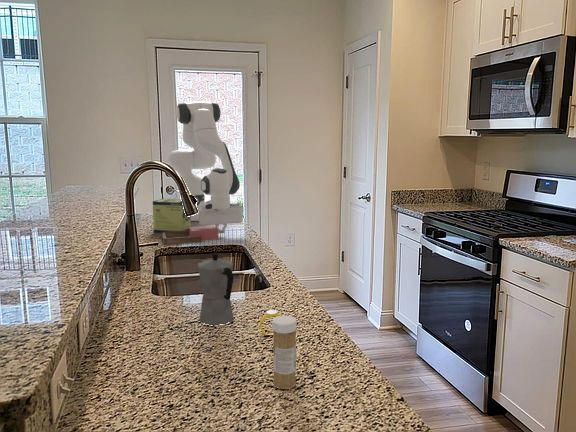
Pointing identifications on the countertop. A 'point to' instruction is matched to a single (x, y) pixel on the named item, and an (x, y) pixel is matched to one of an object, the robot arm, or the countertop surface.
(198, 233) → the carton
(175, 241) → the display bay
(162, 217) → the protein box
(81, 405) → the countertop surface
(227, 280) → the coffeepot
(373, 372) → the countertop surface
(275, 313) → the watch
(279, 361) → the sprinkles bottle
